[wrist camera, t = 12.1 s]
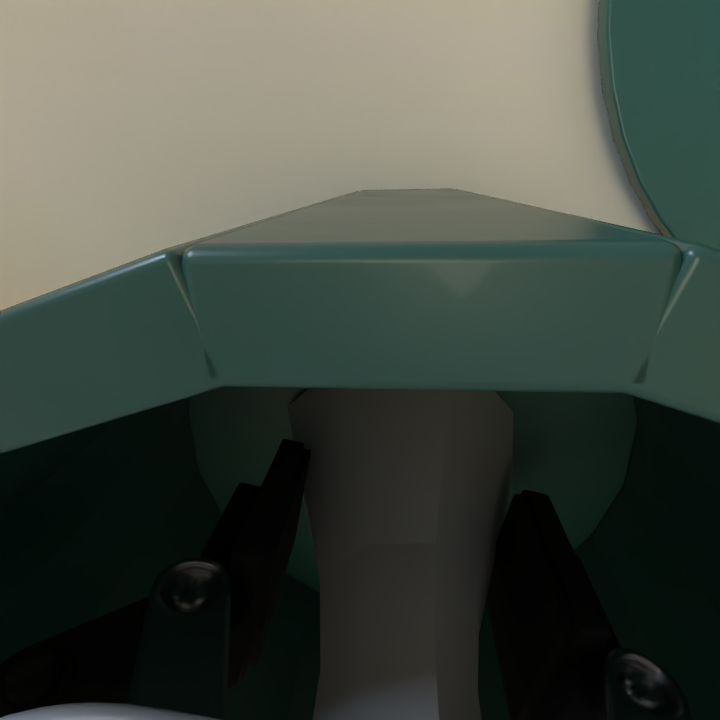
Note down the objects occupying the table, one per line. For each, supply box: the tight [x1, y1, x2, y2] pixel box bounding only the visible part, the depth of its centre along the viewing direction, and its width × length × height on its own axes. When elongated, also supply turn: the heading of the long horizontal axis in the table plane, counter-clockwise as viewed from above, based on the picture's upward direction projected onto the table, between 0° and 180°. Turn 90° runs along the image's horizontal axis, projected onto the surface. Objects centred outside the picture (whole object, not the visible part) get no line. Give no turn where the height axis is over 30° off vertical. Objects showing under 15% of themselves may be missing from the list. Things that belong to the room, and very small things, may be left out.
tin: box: [0, 189, 720, 720], centre depth 10 cm, size 16×16×12 cm
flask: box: [287, 388, 513, 720], centre depth 11 cm, size 7×7×10 cm
